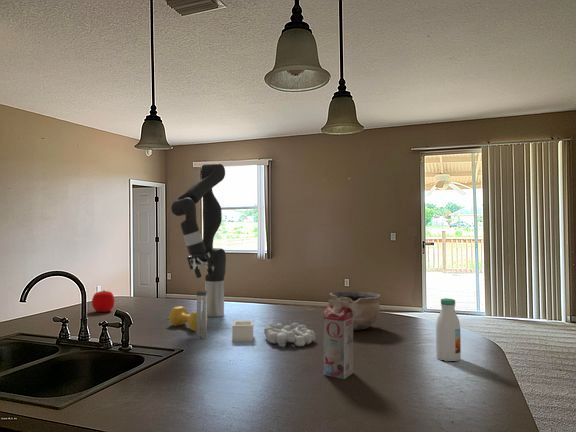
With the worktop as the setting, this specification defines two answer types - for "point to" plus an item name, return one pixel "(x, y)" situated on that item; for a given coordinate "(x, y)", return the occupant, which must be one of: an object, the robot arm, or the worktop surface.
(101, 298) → the tomato
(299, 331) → the campfire
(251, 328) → the open box
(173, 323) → the dumbbell
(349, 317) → the juice carton
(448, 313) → the milk bottle
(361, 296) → the ceramic bowl
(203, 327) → the grey long square block
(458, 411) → the worktop surface
